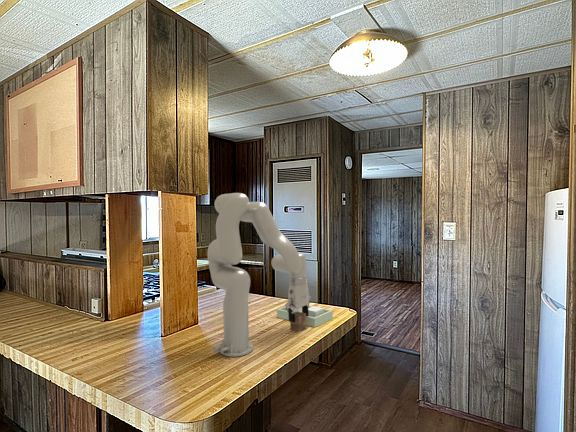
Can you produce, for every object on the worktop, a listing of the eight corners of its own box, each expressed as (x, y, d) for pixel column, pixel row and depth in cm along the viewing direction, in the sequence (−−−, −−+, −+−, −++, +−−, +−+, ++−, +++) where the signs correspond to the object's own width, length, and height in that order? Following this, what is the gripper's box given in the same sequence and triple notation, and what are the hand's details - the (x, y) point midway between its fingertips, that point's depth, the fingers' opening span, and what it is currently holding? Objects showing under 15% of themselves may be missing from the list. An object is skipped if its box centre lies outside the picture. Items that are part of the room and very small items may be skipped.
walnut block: (299, 332, 145) (299, 316, 145) (290, 329, 148) (290, 314, 148) (306, 329, 149) (305, 313, 149) (297, 326, 152) (297, 311, 152)
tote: (314, 327, 151) (314, 318, 151) (277, 317, 166) (276, 309, 166) (332, 318, 162) (332, 310, 162) (295, 310, 177) (295, 302, 177)
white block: (315, 324, 155) (315, 311, 155) (305, 321, 159) (305, 309, 159) (324, 320, 160) (324, 308, 160) (313, 318, 164) (313, 306, 164)
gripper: (292, 285, 139) (293, 326, 140) (315, 278, 153) (316, 315, 153) (278, 283, 144) (279, 322, 145) (302, 276, 158) (303, 312, 158)
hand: (298, 318), depth 149 cm, fingers open, 9 cm apart
